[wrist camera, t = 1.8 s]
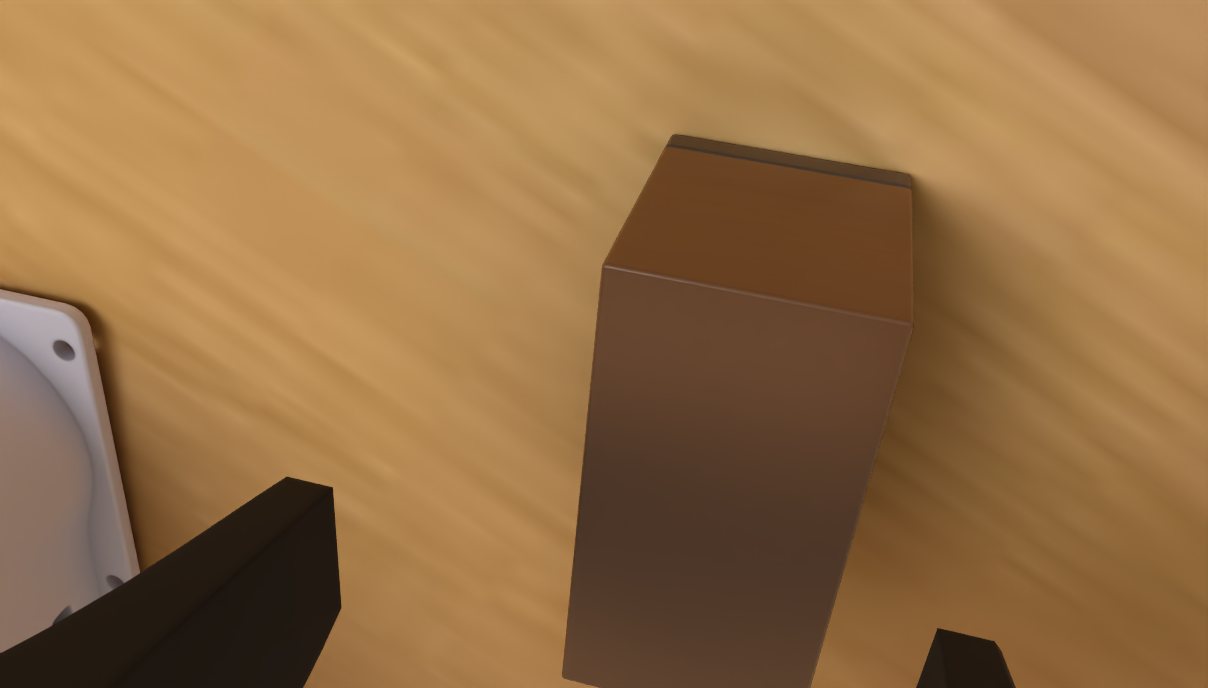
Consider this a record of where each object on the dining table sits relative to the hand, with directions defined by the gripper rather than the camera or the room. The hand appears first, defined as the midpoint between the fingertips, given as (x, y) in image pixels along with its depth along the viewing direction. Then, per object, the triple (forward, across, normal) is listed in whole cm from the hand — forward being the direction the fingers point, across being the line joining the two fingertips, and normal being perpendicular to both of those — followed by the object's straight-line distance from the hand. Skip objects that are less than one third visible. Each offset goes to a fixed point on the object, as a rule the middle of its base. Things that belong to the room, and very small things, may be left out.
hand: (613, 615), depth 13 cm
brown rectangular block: (+8, -1, +1) cm, 8 cm away
